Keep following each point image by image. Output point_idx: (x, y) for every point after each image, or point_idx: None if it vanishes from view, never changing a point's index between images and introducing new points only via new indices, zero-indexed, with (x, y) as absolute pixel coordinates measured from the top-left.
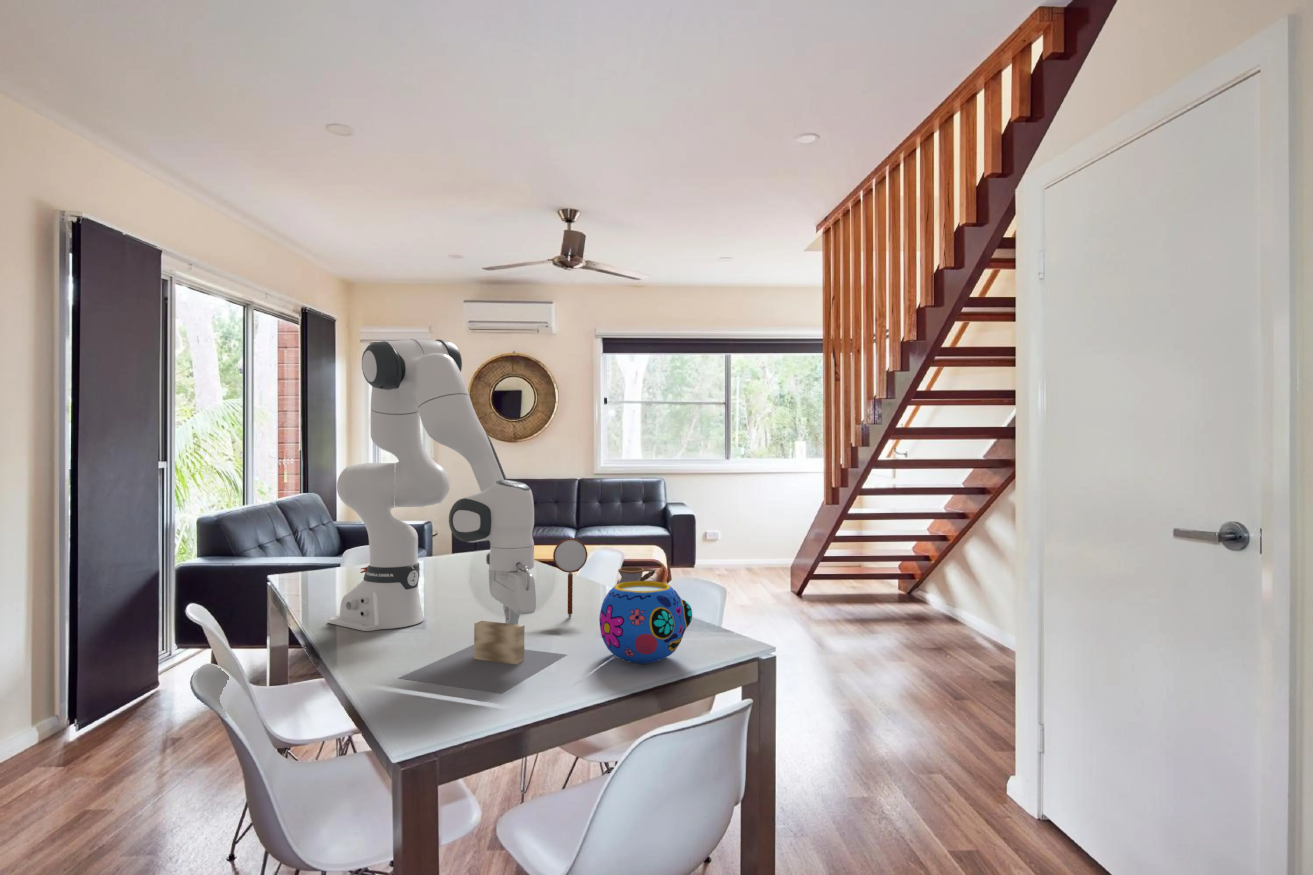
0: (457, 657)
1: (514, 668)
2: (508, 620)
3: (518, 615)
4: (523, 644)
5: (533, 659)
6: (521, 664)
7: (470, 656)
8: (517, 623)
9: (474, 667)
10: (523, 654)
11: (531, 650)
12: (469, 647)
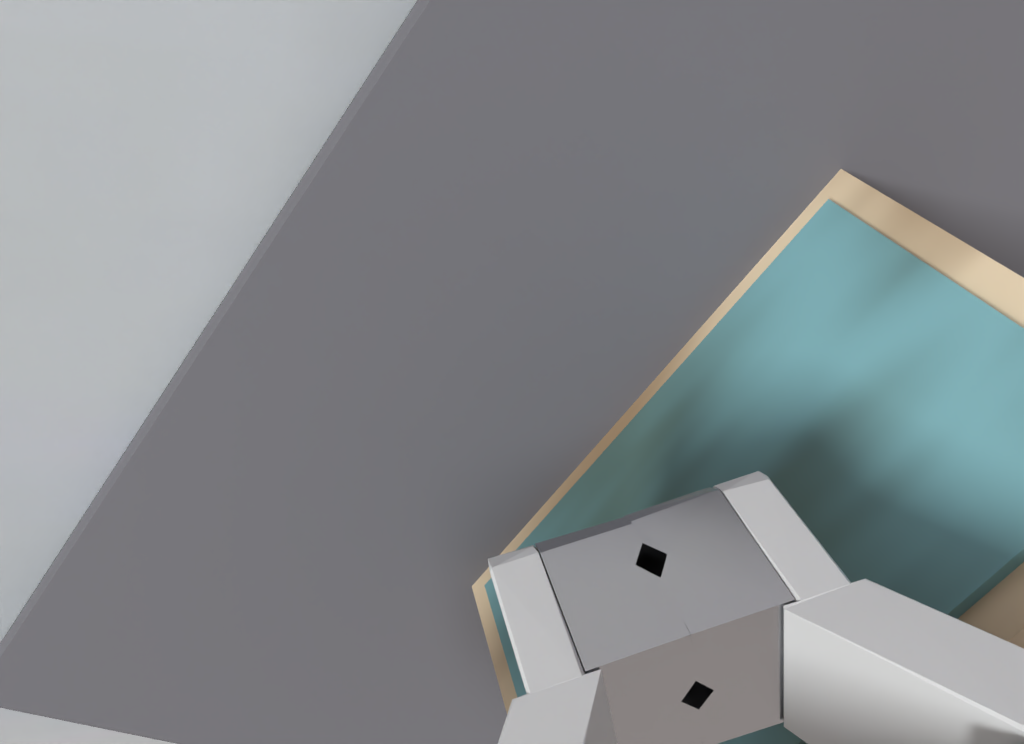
0: (483, 729)
1: (1020, 272)
2: (765, 715)
3: (1001, 661)
4: (994, 266)
5: (846, 45)
6: (943, 202)
7: (480, 655)
8: (807, 529)
9: None
10: (898, 207)
11: (419, 35)
12: (151, 720)
